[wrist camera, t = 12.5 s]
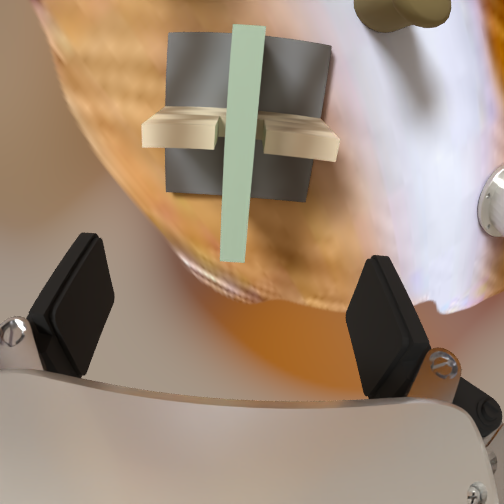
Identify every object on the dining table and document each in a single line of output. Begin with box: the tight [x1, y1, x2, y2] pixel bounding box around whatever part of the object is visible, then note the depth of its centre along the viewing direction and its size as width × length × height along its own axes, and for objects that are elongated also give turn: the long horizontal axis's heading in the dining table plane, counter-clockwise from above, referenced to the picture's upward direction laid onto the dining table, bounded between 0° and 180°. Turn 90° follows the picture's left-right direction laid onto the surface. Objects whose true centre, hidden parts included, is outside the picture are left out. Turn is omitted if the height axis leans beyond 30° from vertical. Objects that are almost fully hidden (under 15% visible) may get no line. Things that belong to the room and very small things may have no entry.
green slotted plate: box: [220, 24, 266, 263], centre depth 26 cm, size 18×2×12 cm, turn 175°
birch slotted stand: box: [142, 32, 340, 202], centre depth 28 cm, size 16×18×9 cm
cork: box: [354, 0, 451, 33], centre depth 19 cm, size 6×6×11 cm
